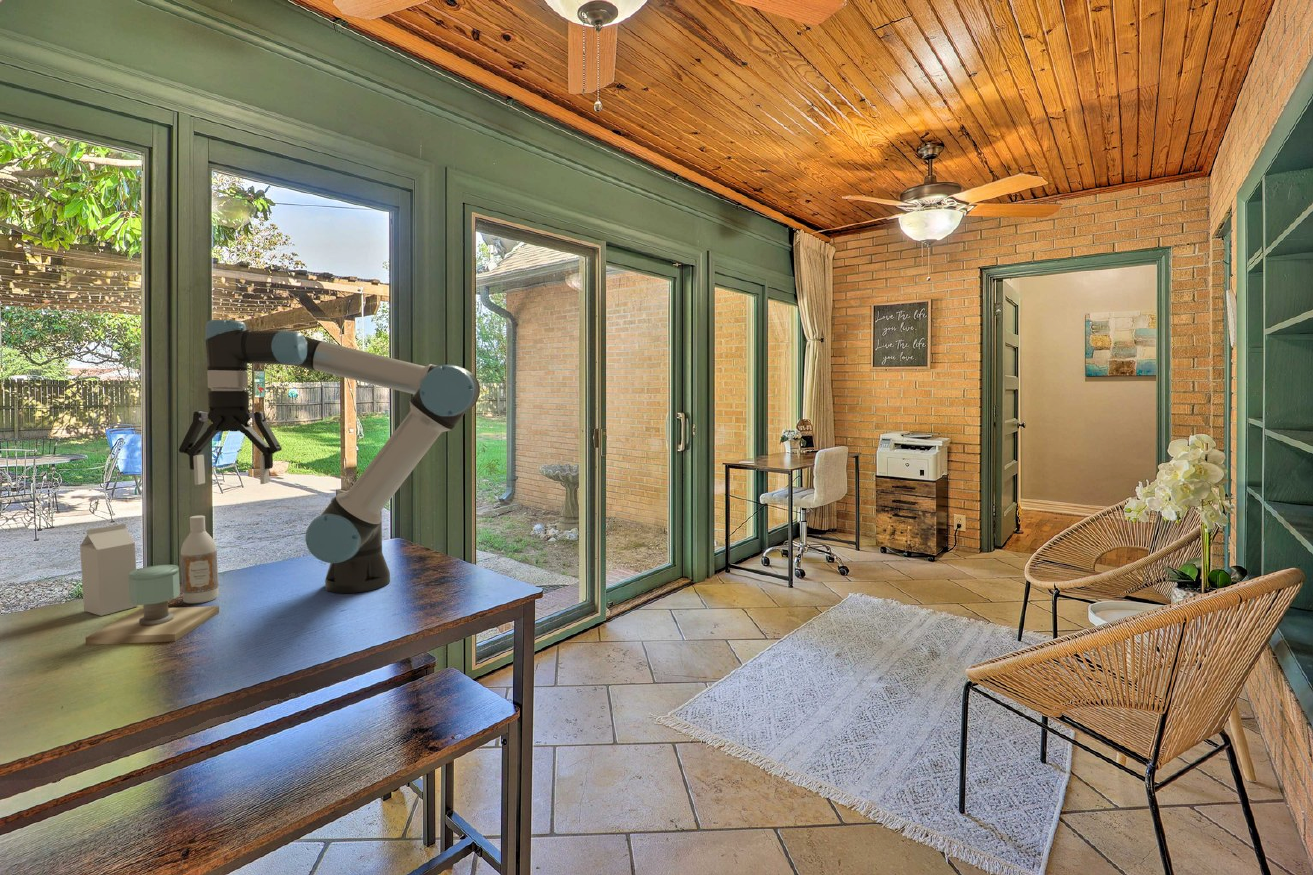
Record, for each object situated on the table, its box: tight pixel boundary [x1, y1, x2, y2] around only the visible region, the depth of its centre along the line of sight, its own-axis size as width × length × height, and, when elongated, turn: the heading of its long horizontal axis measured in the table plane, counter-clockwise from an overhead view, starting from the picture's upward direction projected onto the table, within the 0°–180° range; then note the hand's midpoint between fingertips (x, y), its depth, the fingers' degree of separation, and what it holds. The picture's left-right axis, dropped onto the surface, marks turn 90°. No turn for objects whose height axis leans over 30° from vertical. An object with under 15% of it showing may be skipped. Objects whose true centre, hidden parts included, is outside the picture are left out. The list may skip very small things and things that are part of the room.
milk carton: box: [79, 523, 139, 617], centre depth 142 cm, size 7×7×19 cm
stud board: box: [84, 601, 220, 646], centre depth 132 cm, size 16×16×12 cm
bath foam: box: [180, 515, 220, 605], centre depth 149 cm, size 7×7×20 cm
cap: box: [128, 564, 181, 606], centre depth 131 cm, size 8×8×6 cm
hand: (232, 483), depth 143 cm, fingers open, 13 cm apart
